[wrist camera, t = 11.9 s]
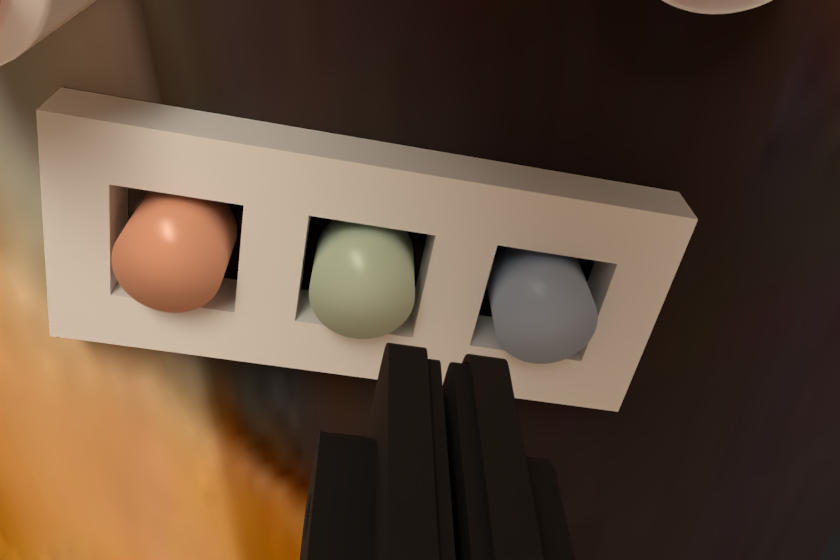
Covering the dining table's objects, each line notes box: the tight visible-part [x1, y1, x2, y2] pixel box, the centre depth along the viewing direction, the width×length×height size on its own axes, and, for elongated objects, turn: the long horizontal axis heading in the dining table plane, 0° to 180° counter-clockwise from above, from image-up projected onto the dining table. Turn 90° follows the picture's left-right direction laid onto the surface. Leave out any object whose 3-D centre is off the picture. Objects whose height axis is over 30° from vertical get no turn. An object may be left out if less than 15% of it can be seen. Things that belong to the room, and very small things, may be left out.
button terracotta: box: [111, 191, 237, 313], centre depth 38 cm, size 5×5×4 cm
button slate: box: [487, 247, 598, 364], centre depth 41 cm, size 5×5×4 cm
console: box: [36, 87, 698, 412], centre depth 40 cm, size 12×30×3 cm, turn 79°
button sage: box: [309, 220, 415, 339], centre depth 39 cm, size 5×5×4 cm
